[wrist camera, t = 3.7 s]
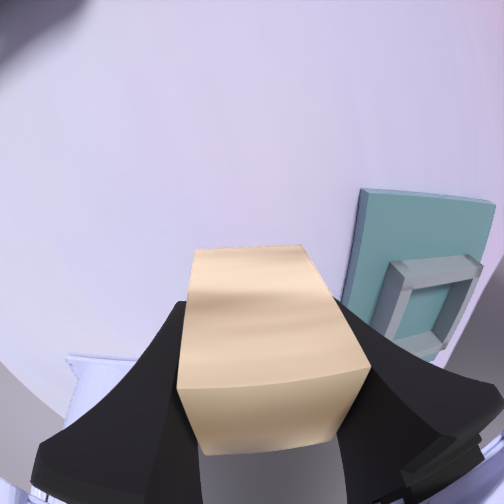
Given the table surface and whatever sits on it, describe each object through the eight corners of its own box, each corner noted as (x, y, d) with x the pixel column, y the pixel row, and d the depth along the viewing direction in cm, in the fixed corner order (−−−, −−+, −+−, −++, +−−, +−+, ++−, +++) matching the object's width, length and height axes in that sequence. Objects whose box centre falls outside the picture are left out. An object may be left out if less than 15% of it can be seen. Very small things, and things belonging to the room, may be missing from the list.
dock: (430, 354, 24) (442, 372, 22) (319, 382, 23) (328, 407, 20) (488, 200, 16) (512, 213, 13) (360, 188, 15) (387, 204, 12)
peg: (292, 323, 12) (331, 440, 7) (204, 330, 12) (204, 455, 6) (301, 244, 10) (371, 366, 5) (195, 249, 10) (176, 388, 5)
